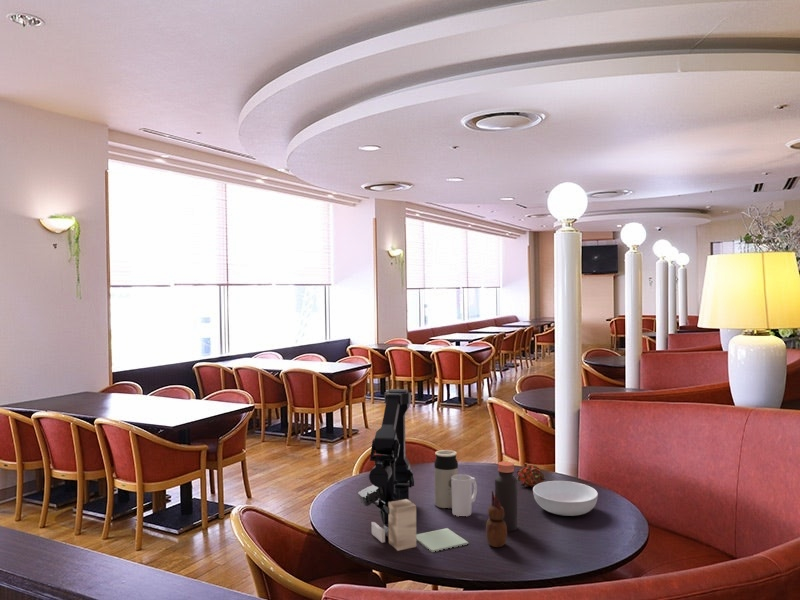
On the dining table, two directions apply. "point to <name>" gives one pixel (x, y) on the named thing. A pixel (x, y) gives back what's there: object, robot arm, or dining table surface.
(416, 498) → the dining table surface
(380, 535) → the channel
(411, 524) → the block
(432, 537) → the mat
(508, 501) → the bottle
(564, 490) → the serving bowl
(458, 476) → the mug
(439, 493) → the travel mug
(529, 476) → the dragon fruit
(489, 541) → the wooden figurine
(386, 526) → the bar
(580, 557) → the dining table surface
